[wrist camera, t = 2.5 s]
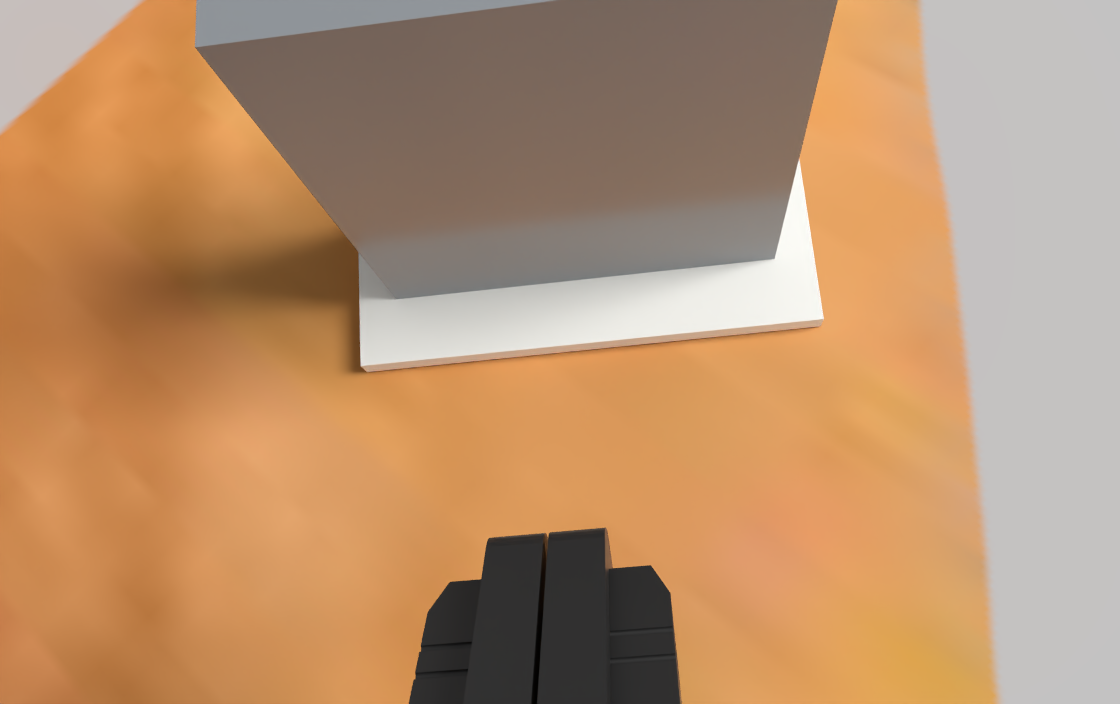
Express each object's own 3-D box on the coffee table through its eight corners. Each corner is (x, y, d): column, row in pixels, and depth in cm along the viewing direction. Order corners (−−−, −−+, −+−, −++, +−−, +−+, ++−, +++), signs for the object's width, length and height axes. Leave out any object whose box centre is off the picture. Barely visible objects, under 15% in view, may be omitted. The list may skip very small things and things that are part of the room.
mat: (367, 371, 28) (360, 366, 27) (357, -120, 32) (351, -134, 32) (820, 326, 27) (823, 319, 26) (744, -176, 31) (745, -191, 31)
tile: (396, 299, 28) (195, 47, 16) (393, 208, 28) (199, -94, 17) (774, 259, 27) (846, -38, 15) (761, 166, 27) (820, -183, 16)
